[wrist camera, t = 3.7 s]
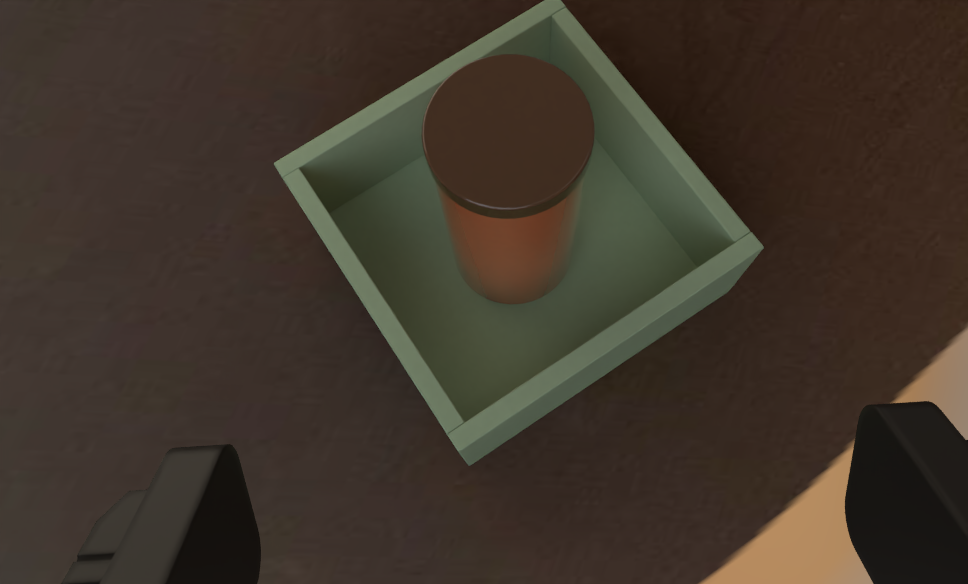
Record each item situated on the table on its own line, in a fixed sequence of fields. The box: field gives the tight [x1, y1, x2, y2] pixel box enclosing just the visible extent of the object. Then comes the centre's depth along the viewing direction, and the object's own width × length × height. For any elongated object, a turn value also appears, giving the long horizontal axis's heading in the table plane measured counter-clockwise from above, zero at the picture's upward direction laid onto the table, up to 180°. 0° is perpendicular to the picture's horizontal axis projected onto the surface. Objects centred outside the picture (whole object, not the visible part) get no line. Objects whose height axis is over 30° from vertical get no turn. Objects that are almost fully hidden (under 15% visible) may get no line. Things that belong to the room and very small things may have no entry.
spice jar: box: [421, 54, 595, 304], centre depth 29 cm, size 5×5×10 cm
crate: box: [274, 0, 764, 466], centre depth 32 cm, size 12×12×5 cm
